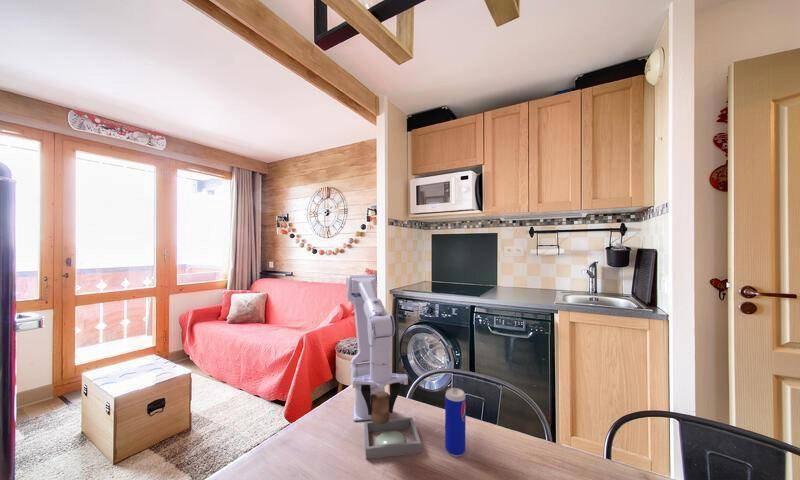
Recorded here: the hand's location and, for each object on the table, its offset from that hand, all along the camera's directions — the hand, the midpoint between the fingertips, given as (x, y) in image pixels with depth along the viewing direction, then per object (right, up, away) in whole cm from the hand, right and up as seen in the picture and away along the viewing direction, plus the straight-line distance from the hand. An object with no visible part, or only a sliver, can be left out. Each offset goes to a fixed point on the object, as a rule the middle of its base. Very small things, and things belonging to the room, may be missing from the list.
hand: (380, 412), depth 76 cm
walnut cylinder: (0, -2, 0) cm, 2 cm away
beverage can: (+20, -9, -2) cm, 22 cm away
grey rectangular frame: (+3, -9, +1) cm, 9 cm away
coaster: (+3, -9, +1) cm, 9 cm away
